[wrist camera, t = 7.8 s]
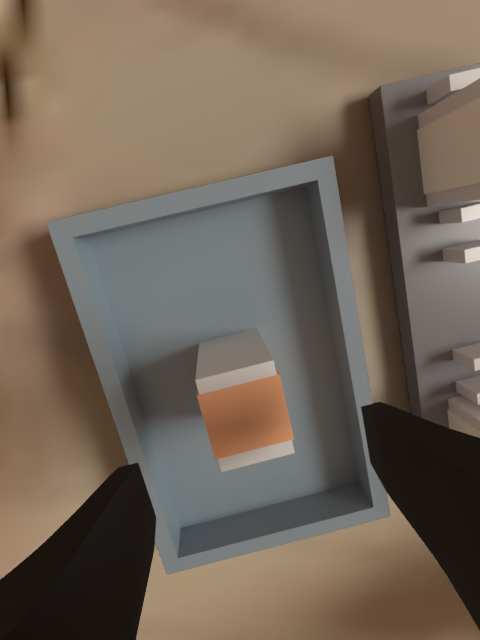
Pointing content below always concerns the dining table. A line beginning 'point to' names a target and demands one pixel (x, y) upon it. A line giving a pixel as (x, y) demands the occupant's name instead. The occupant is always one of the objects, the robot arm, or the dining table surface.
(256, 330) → the fuse marked
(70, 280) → the tray
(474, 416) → the fuse
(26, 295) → the dining table surface
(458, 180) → the block
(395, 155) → the block
